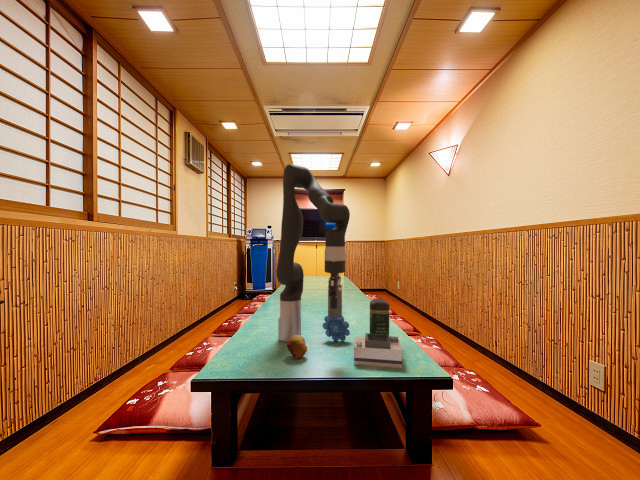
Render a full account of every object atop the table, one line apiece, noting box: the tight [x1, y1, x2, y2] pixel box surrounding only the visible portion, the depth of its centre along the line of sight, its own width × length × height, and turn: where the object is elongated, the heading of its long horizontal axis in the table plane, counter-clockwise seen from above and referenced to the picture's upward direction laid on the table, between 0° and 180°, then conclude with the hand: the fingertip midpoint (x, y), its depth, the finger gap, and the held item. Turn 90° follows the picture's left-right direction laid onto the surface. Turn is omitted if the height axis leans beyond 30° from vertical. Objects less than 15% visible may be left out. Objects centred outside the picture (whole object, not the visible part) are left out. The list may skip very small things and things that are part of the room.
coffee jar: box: [369, 298, 390, 336], centre depth 119 cm, size 10×8×19 cm
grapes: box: [322, 315, 351, 342], centre depth 122 cm, size 12×7×12 cm, turn 84°
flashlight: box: [327, 283, 343, 318], centre depth 104 cm, size 5×5×11 cm
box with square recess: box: [353, 332, 403, 369], centre depth 104 cm, size 16×11×8 cm
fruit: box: [285, 335, 308, 360], centre depth 106 cm, size 8×8×8 cm
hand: (334, 306), depth 104 cm, fingers closed on flashlight, 5 cm apart
